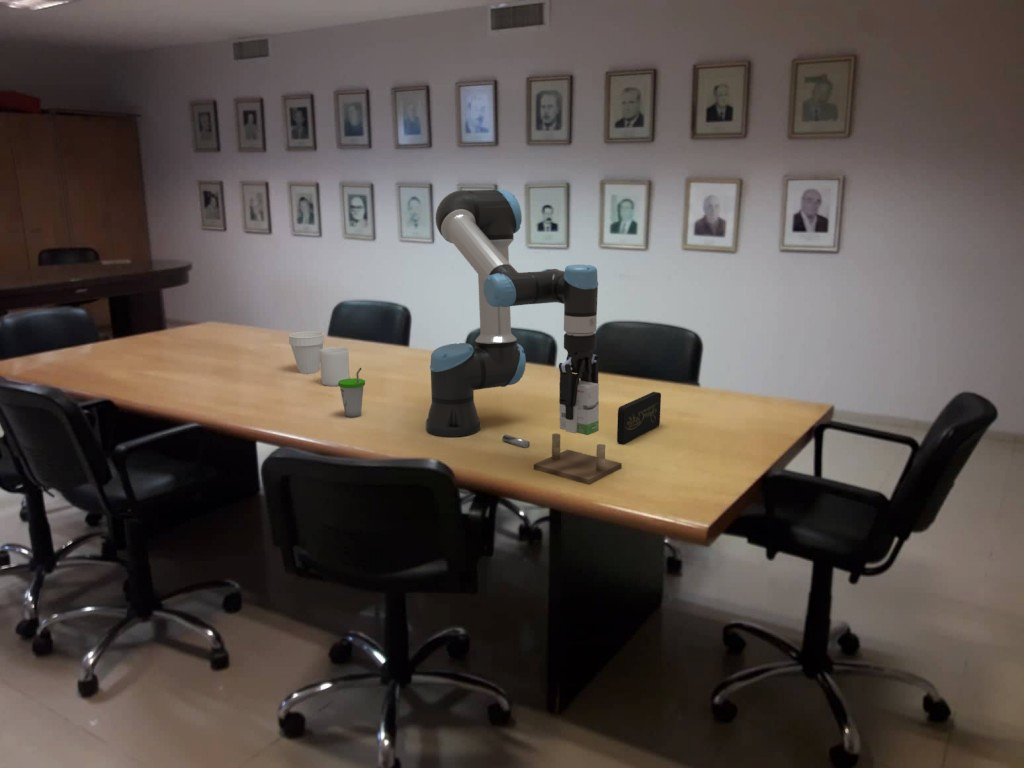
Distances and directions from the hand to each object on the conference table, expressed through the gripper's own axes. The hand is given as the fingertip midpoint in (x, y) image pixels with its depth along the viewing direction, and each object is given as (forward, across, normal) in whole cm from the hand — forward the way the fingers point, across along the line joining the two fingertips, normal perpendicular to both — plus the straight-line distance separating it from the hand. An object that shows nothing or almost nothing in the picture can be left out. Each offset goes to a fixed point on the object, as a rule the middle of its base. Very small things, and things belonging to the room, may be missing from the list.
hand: (578, 429), depth 193 cm
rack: (+10, 0, 0) cm, 10 cm away
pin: (+10, +6, +23) cm, 26 cm away
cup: (+10, -5, +77) cm, 78 cm away
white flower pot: (+9, +21, +133) cm, 135 cm away
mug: (+10, +16, +113) cm, 115 cm away
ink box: (0, 0, 0) cm, 0 cm away
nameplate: (+10, +33, +3) cm, 34 cm away
